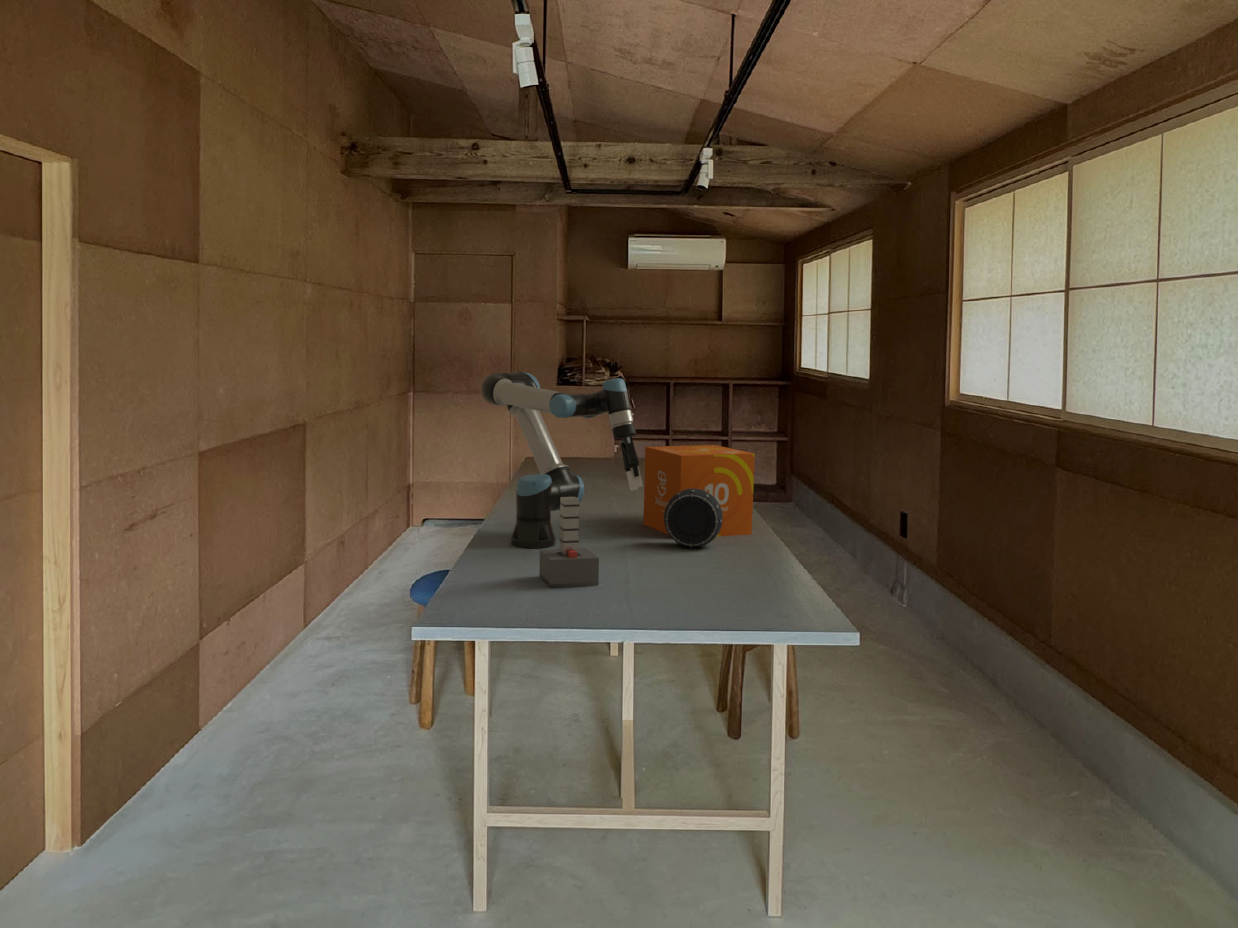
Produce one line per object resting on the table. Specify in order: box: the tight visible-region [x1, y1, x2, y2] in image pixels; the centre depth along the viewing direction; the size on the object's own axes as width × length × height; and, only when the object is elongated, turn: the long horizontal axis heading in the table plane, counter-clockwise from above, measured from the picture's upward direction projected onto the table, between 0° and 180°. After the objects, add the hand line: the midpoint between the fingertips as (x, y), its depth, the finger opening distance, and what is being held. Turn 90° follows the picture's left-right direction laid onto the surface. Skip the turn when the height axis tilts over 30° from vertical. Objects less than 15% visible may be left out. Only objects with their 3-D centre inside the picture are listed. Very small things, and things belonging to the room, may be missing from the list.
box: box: [642, 444, 756, 538], centre depth 363 cm, size 30×30×30 cm
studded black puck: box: [663, 489, 723, 549], centre depth 332 cm, size 11×20×20 cm, turn 78°
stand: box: [538, 547, 600, 589], centre depth 281 cm, size 14×14×10 cm
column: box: [558, 497, 580, 556], centre depth 280 cm, size 5×5×23 cm
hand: (636, 488), depth 317 cm, fingers open, 13 cm apart
